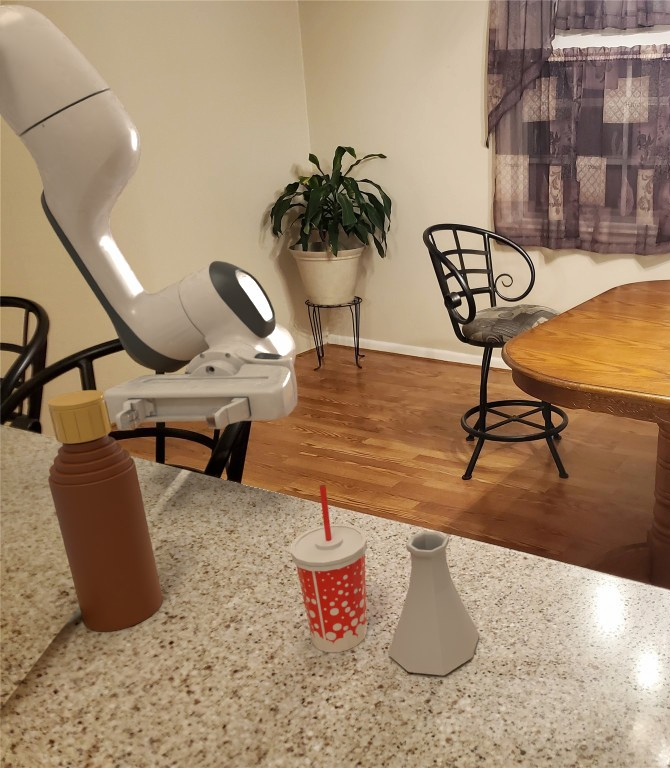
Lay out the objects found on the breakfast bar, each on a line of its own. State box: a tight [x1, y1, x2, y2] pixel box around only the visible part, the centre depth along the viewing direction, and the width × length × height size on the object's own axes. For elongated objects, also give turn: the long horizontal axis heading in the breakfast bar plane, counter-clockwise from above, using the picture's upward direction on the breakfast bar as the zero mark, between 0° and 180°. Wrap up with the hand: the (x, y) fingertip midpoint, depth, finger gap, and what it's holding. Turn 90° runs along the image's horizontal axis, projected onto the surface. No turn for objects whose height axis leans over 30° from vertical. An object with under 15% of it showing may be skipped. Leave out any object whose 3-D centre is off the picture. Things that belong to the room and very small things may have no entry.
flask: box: [387, 530, 480, 676], centre depth 55 cm, size 7×7×10 cm
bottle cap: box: [47, 389, 113, 444], centre depth 57 cm, size 4×4×3 cm
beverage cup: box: [289, 484, 368, 653], centre depth 57 cm, size 6×6×14 cm
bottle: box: [47, 434, 164, 633], centre depth 60 cm, size 6×6×20 cm
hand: (167, 422), depth 70 cm, fingers open, 8 cm apart
